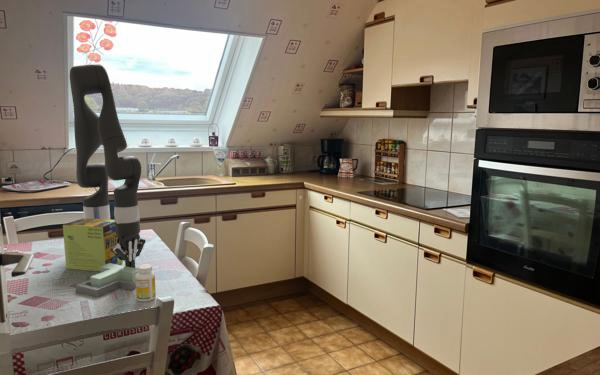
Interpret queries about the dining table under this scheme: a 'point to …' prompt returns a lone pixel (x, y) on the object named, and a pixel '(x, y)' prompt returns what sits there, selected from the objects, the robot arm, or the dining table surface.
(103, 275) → the t block
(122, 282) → the t dock
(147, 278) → the supplement bottle
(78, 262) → the protein box
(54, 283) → the dining table surface
